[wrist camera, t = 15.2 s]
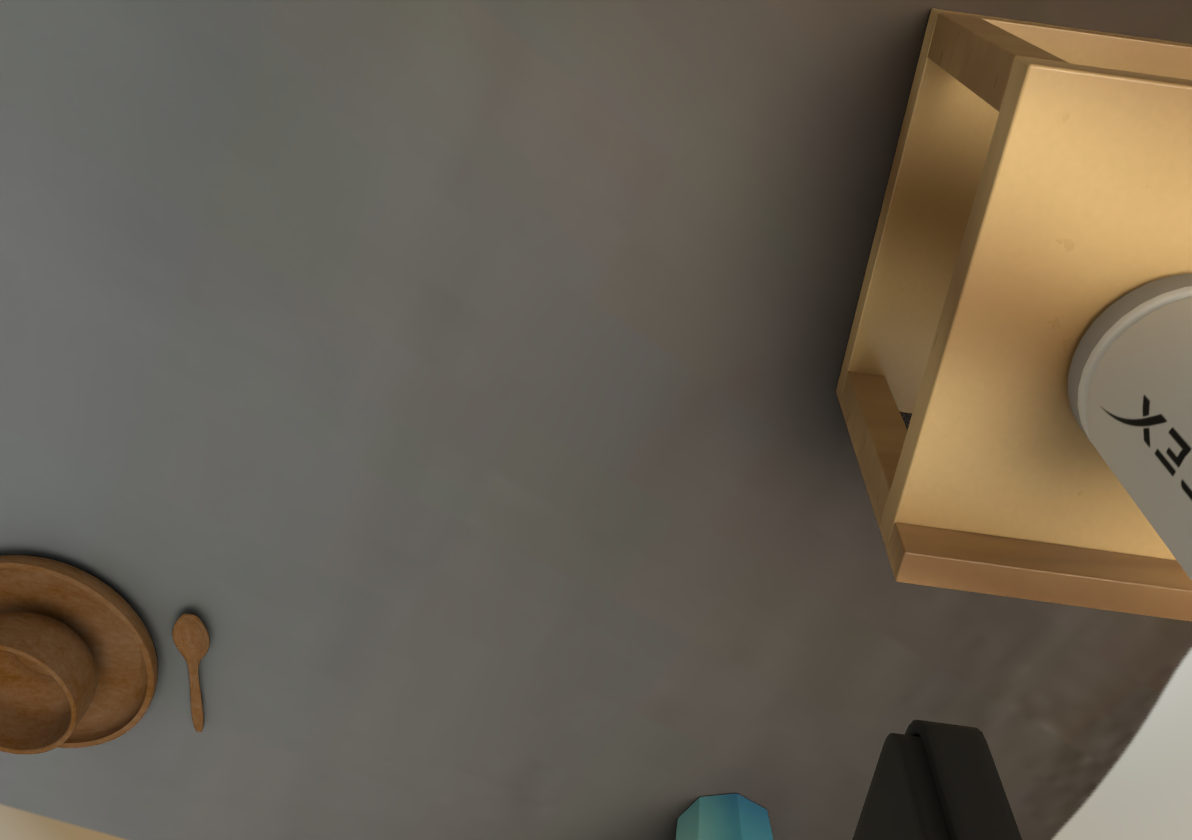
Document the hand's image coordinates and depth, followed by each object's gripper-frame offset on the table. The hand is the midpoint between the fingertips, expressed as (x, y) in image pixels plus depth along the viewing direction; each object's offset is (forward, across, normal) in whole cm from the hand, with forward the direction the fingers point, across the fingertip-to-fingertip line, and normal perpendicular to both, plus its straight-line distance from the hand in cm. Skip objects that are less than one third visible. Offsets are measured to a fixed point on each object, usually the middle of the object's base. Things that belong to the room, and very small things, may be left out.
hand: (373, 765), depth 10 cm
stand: (+36, -19, +4) cm, 41 cm away
